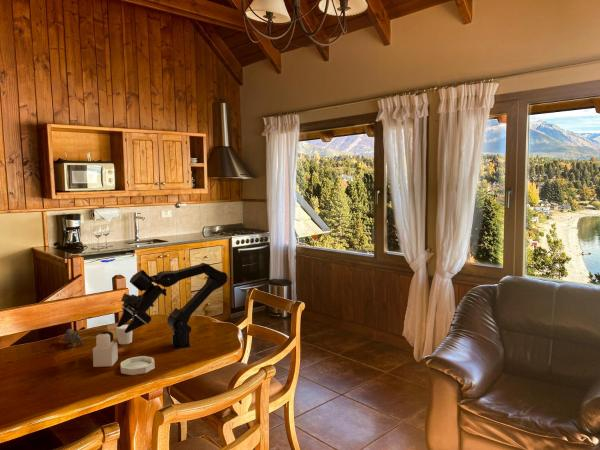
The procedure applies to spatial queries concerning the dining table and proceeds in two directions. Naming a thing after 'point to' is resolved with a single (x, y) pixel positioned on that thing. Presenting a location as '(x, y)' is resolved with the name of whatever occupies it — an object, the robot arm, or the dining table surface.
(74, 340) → the dog figurine
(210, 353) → the dining table surface
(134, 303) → the robot arm
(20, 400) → the dining table surface
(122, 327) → the shot glass
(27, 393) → the dining table surface
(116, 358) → the medicine bottle
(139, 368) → the bowl
